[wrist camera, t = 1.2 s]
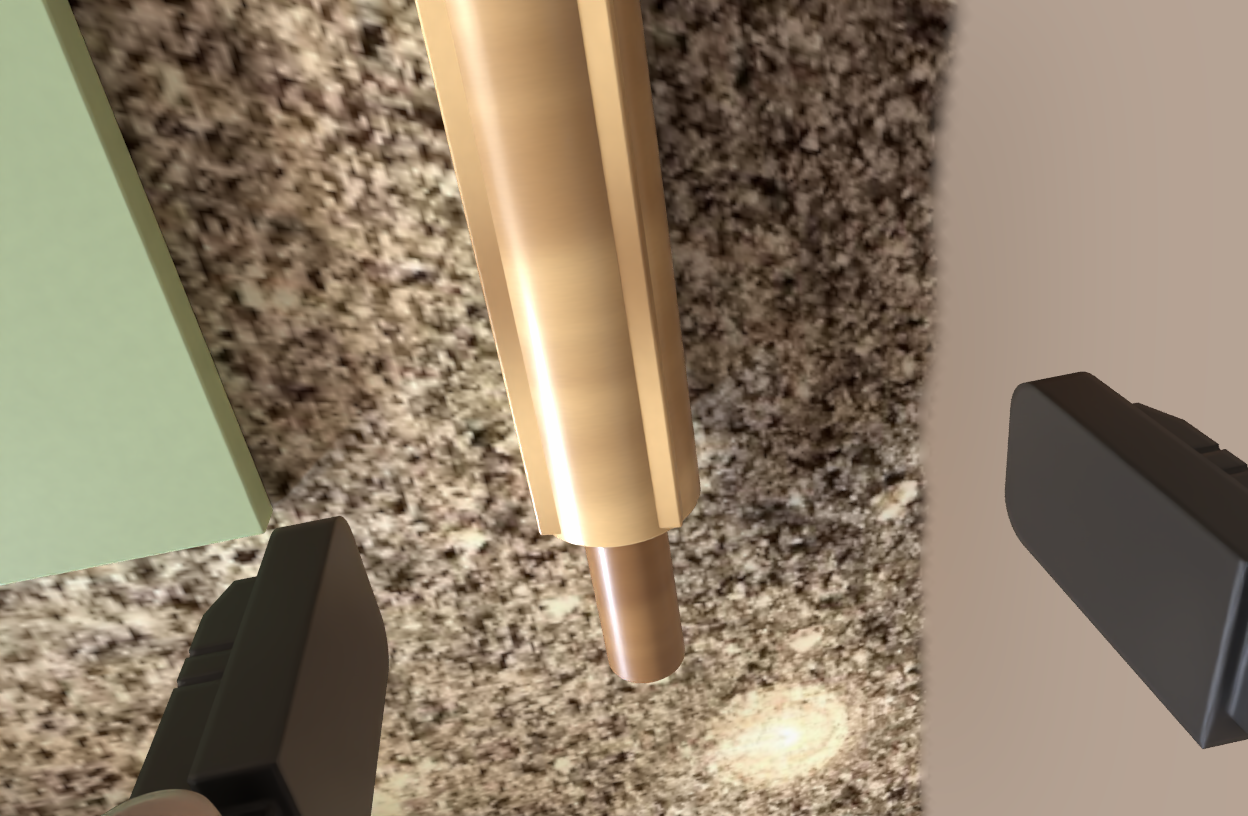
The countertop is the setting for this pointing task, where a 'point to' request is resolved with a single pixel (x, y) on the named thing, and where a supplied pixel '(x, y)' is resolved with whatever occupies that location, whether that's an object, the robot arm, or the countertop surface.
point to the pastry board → (97, 336)
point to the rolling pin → (578, 287)
